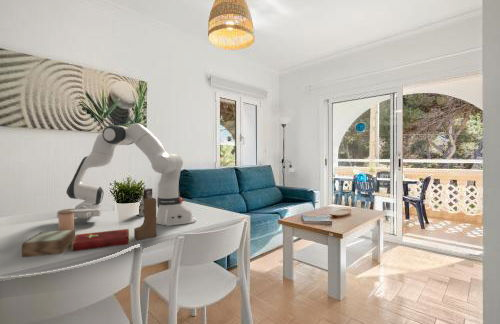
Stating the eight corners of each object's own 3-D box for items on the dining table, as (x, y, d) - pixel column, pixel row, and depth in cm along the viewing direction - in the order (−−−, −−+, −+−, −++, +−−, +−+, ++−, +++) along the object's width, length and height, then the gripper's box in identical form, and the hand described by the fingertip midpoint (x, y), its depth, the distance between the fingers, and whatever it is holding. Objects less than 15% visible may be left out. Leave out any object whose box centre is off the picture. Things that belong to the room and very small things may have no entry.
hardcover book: (129, 245, 115) (129, 235, 114) (71, 252, 105) (71, 242, 105) (128, 236, 125) (128, 228, 125) (76, 243, 116) (76, 233, 116)
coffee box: (144, 216, 163) (144, 190, 163) (135, 215, 164) (135, 189, 164) (152, 212, 172) (152, 188, 171) (144, 212, 173) (143, 188, 173)
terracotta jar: (76, 233, 129) (76, 208, 128) (71, 237, 123) (71, 211, 122) (61, 234, 127) (61, 209, 127) (55, 238, 121) (55, 212, 121)
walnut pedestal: (75, 240, 118) (75, 229, 118) (61, 253, 103) (61, 240, 103) (40, 243, 114) (40, 231, 114) (22, 256, 100) (21, 243, 99)
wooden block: (136, 240, 119) (136, 200, 118) (134, 237, 123) (133, 199, 122) (156, 236, 125) (156, 198, 124) (153, 234, 128) (153, 197, 128)
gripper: (62, 205, 146) (51, 211, 133) (103, 204, 152) (96, 209, 138) (62, 217, 146) (51, 223, 133) (103, 214, 152) (97, 221, 139)
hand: (75, 216), depth 136 cm, fingers open, 8 cm apart
